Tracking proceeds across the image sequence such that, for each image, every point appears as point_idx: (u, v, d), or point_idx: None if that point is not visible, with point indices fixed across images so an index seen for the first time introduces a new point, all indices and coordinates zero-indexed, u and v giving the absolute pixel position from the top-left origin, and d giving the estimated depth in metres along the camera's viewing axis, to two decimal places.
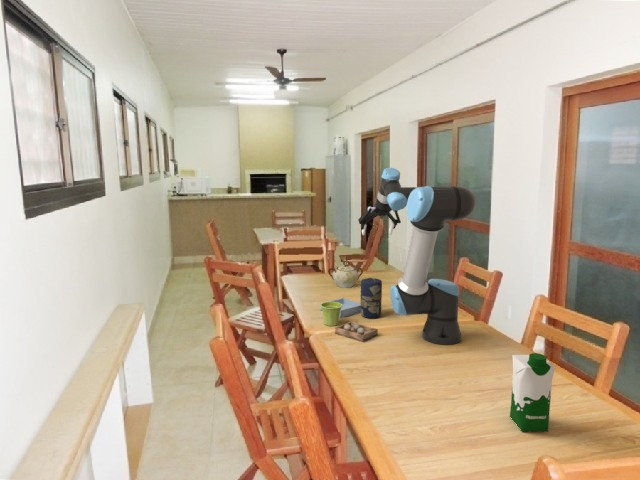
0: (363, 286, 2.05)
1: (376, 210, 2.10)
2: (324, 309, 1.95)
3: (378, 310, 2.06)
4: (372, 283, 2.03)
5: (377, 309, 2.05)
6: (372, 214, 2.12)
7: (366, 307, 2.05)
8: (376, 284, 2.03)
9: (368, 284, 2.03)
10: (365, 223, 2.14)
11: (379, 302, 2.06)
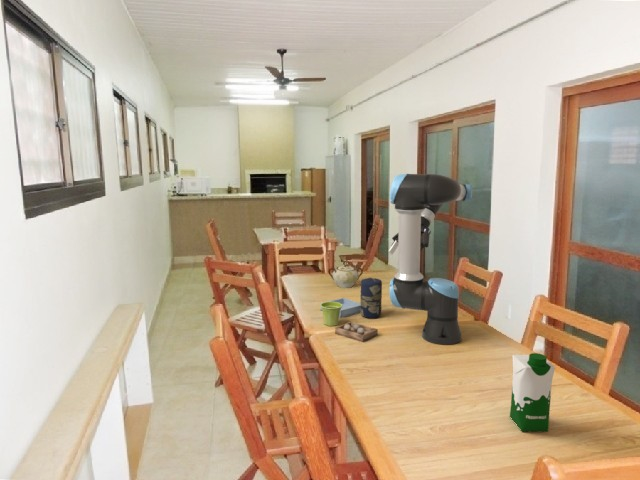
0: (363, 286, 2.05)
1: None
2: (324, 309, 1.95)
3: (378, 310, 2.06)
4: (372, 283, 2.03)
5: (377, 309, 2.05)
6: None
7: (366, 307, 2.05)
8: (376, 284, 2.03)
9: (368, 284, 2.03)
10: (396, 238, 2.18)
11: (379, 302, 2.06)
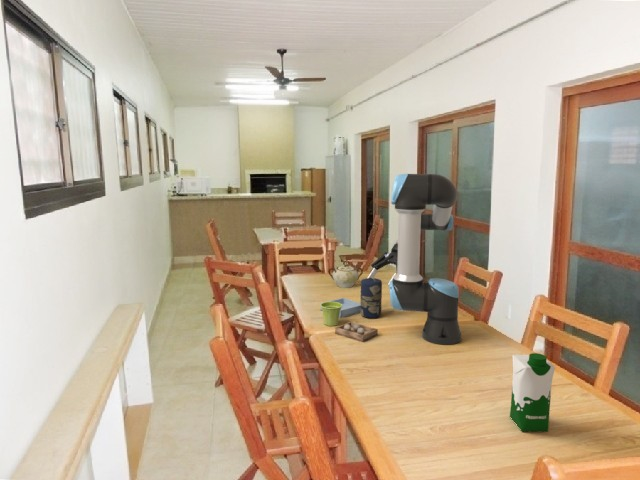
0: (363, 286, 2.05)
1: (389, 254, 2.19)
2: (324, 309, 1.95)
3: (378, 310, 2.06)
4: (372, 283, 2.03)
5: (377, 309, 2.05)
6: None
7: (366, 307, 2.05)
8: (376, 284, 2.03)
9: (368, 284, 2.03)
10: (375, 266, 2.19)
11: (379, 302, 2.06)
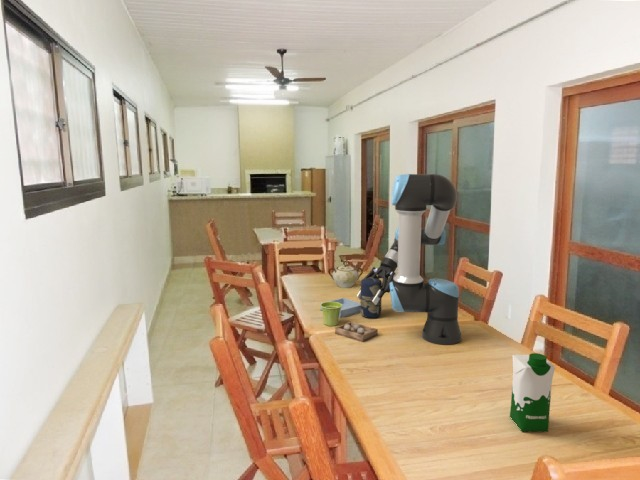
0: (363, 286, 2.05)
1: (378, 268, 2.14)
2: (324, 309, 1.95)
3: (378, 309, 2.06)
4: (372, 283, 2.03)
5: (377, 309, 2.05)
6: None
7: (366, 307, 2.05)
8: (376, 284, 2.03)
9: (368, 284, 2.03)
10: None
11: (379, 302, 2.06)
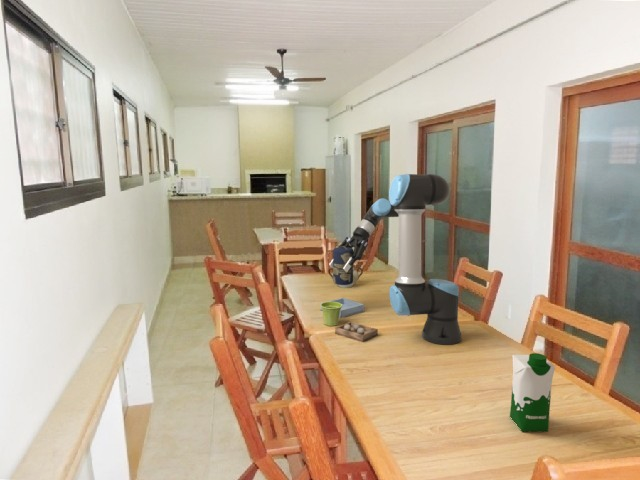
0: (335, 254, 2.10)
1: (351, 238, 2.19)
2: (324, 309, 1.95)
3: (349, 277, 2.11)
4: (343, 251, 2.08)
5: (348, 277, 2.11)
6: None
7: (338, 274, 2.10)
8: (347, 252, 2.09)
9: (339, 252, 2.09)
10: None
11: (350, 270, 2.11)
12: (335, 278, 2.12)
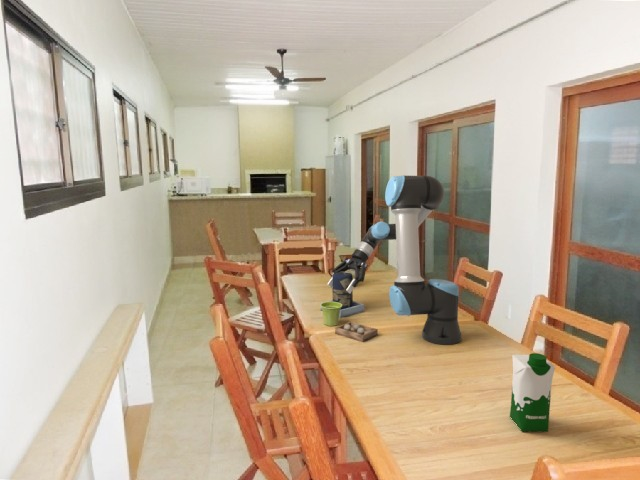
0: (334, 280, 2.12)
1: (350, 260, 2.21)
2: (324, 309, 1.95)
3: (349, 302, 2.13)
4: (342, 277, 2.10)
5: (348, 302, 2.12)
6: None
7: (338, 300, 2.12)
8: (346, 277, 2.10)
9: (339, 278, 2.10)
10: (336, 271, 2.21)
11: (350, 295, 2.13)
12: None
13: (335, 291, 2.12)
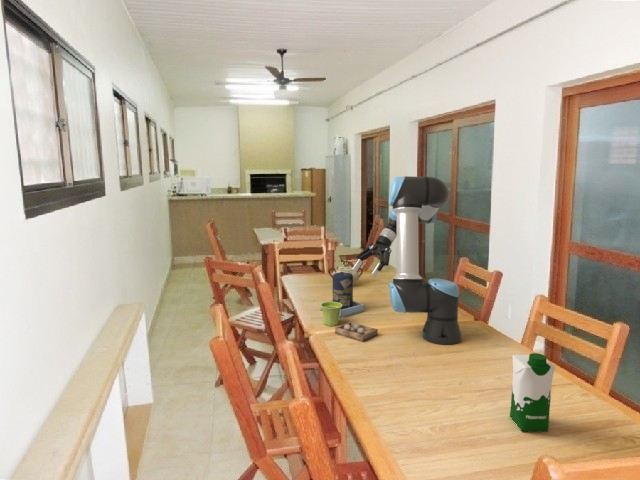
0: (334, 280, 2.12)
1: (373, 246, 2.28)
2: (324, 309, 1.95)
3: (349, 303, 2.13)
4: (343, 277, 2.10)
5: (348, 302, 2.12)
6: None
7: (338, 300, 2.12)
8: (347, 278, 2.10)
9: (339, 278, 2.10)
10: (360, 257, 2.29)
11: (350, 295, 2.13)
12: None
13: (335, 291, 2.12)
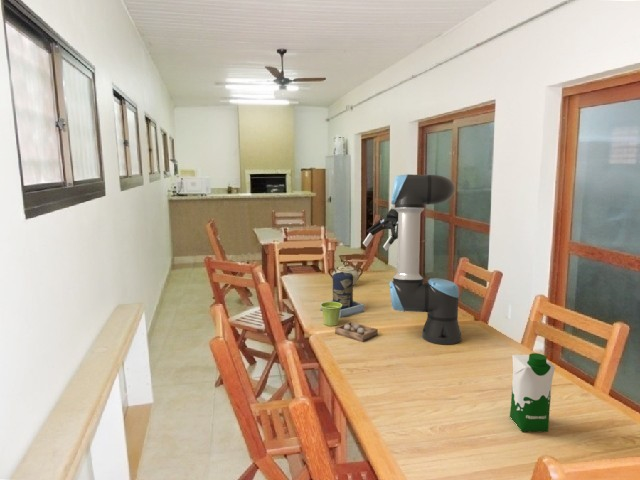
0: (334, 280, 2.12)
1: (385, 220, 2.25)
2: (324, 309, 1.95)
3: (349, 303, 2.13)
4: (343, 277, 2.10)
5: (348, 302, 2.12)
6: None
7: (338, 300, 2.12)
8: (347, 278, 2.10)
9: (339, 278, 2.10)
10: (371, 231, 2.26)
11: (350, 295, 2.13)
12: None
13: (335, 291, 2.12)
